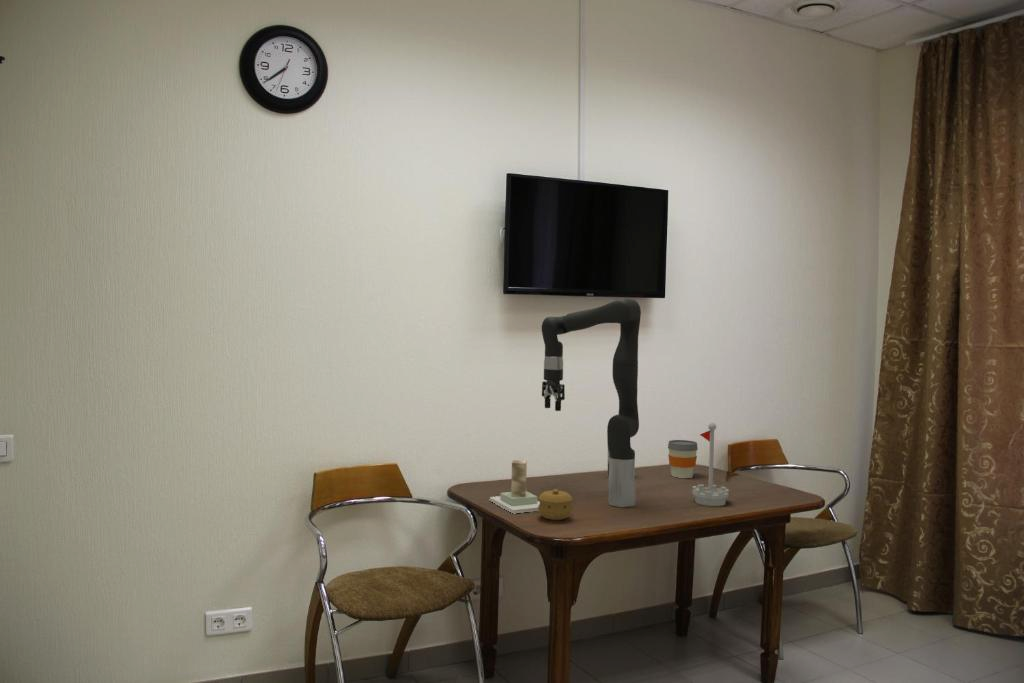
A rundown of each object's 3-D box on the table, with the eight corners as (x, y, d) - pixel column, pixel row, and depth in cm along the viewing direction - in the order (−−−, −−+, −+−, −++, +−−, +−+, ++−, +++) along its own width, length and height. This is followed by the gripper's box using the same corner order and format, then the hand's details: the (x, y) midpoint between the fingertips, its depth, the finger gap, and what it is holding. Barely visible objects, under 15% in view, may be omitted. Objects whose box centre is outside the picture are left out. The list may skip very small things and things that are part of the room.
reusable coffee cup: (663, 473, 338) (664, 439, 337) (691, 473, 339) (691, 439, 339) (672, 479, 325) (673, 444, 325) (701, 479, 327) (702, 444, 326)
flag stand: (734, 502, 287) (737, 423, 286) (717, 508, 278) (719, 426, 277) (703, 496, 296) (706, 419, 295) (685, 502, 287) (687, 422, 286)
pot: (574, 523, 256) (575, 493, 255) (539, 523, 255) (540, 493, 254) (569, 513, 267) (570, 485, 267) (535, 514, 266) (536, 485, 266)
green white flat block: (548, 510, 271) (549, 499, 271) (513, 514, 265) (513, 502, 265) (523, 497, 289) (523, 487, 289) (489, 501, 283) (489, 490, 283)
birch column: (526, 493, 279) (526, 460, 278) (525, 496, 274) (525, 463, 274) (512, 493, 279) (512, 460, 279) (511, 496, 274) (511, 462, 274)
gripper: (536, 366, 304) (535, 407, 305) (553, 369, 291) (552, 412, 292) (553, 366, 307) (552, 406, 308) (571, 369, 295) (570, 411, 295)
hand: (552, 409), depth 300 cm, fingers open, 8 cm apart
